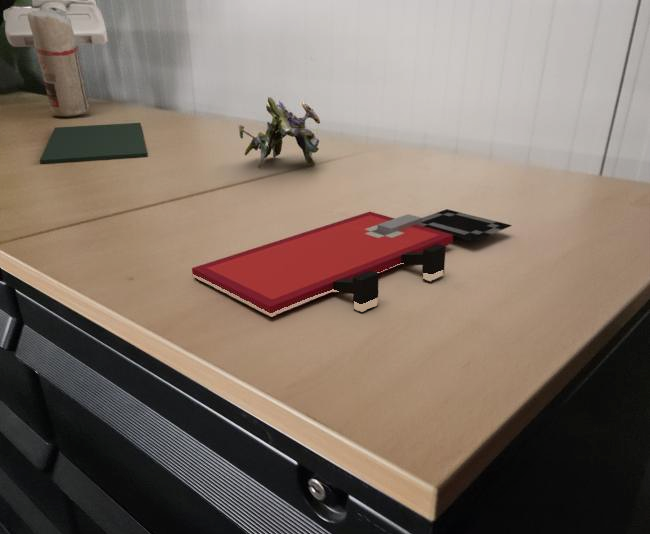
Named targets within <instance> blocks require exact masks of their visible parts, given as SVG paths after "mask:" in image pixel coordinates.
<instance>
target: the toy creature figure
mask: <svg viewBox="0 0 650 534" xmlns="http://www.w3.org/2000/svg"><path fill="white" fill-rule="evenodd" d="M301 106H302V108H303V109H304V111H305V114H304V116H303V117H298V116H296V115H295V114H294V113H293V112H292V111H291V110H290V109H289V108H287V107H286V106H285V105H284V104H283V102H281V101H280V100H279V101H278V104H277V103H276V100H274V98H273V97H271V96H270V97H269V96H268V97H267V103H266V105H265V108H266V111H267V112H268V114H270V116H271V117H272V120H271V122H270V121H267V122H266V124H267V129H266V130H265V133H263V132H258V133H257V136H254V135H252V134H251V133H249V132H248V131H246V130H244V129H245V126H244V125H243V124H238V129H239V138H240V139H242V140H243V139H244V134H245V135H247V136H249V137H250V138H252V140H251V141H250V143H249V145H248V146H247V148H245V151H244V156H247V155H248V154H249V153H250V152H251V151H252V150H254V151H258V149H259V150H260V160H259V164H258V167H257V168H258V169H260V167H261V166H262V165H263V162H264V160H265V159H267V157H269V156H270V155H271V154H272V157H273V158H276V157H278V156H280V155H281V152H282V149H283V139H284V138H285V137H286V136H289V137H291V138H292V137H293V138H294V139H295V140H296V144H297V145H298V147H299V148H300V149H301V150H302V153H303V156H304V159H305V161H306V163H307V164H308V165H309V166H310V165H311V166H314V165H316V161H315V159H314V157H313V153H314V154H315V153H317V152H318V151H319V150H320V149H319V147H318V146H319V143H320V140H319V138H317V137H316V135H315V133H314V132H312V130H310V129H309V128H308V127H307V126H306V120H307V119H312V120H313V121H314V122H315V123H316V124H320V123H321V121H320V117H319V116H318V115H317V113H316V112H315V110H314V109H313V108H312V107H310V106H309V105H308V104H305V102H302V103H301Z"/></svg>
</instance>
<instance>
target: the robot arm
mask: <svg viewBox="0 0 650 534" xmlns="http://www.w3.org/2000/svg"><path fill="white" fill-rule="evenodd" d="M31 4H32V5H21V6H19V5H11V6H9V8H6V9H4V10H3V14H2V16H3V17H2V18H3V21H4V26H5V27H4V30H5V36H6V39H7V42H8V44H9V45H10V46H12V47H14V48H27V47H35V46H34V39H33V34H32V31H31V28H30V24H29V20H28V16H27V15H28V13H30V12H32V11H35V12H37V11H39V10H42V9H44V10H46V9H50V10H54V11H59V12H62V13H64V14H65V15H66V16H68V17H69V18H70V20H71V25H72V30H73V32H74V35H75V39H76V43H77V47H78V46H105V45H106V44H107V43H108V33H107V28H106V23H105V20H104V17H103V14H102V11H101V9H99V8H98V6H97V2H96V0H31Z"/></svg>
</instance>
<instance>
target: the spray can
mask: <svg viewBox="0 0 650 534" xmlns="http://www.w3.org/2000/svg"><path fill="white" fill-rule="evenodd" d="M27 16H28V20H29V24H30V28H31V31H32V34H33V39H34V46H33V47H34V48H35V51H36V55H37V59H38V63H39V68H40V70H41V75H42V79H43V83H44V84H43V85H44V87H45V92H46V96H47V100H48V104H49V107H50V110H49V112H50V113H51V114H52V115H55V116H57V117H75V116H79V115H84V114H87V113H89V112H90V111H91V108H90V106H89V100H88V96H87V90H86V86H85V85H86V84H85V80H84V75H83V71H82V64H81V61H80V55H79V52H78V51H79V50H78V46H77V43H76V39H75V35H74V32H73V30H72V25H71V20H70V18H69V17H68V16H66V15H65V14H64V13H62V12H59V11H54V10H50V9H46V10H44V9H42V10H39V11H37V12H35V11H32V12H30V13H28V15H27Z"/></svg>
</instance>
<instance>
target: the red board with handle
mask: <svg viewBox="0 0 650 534" xmlns="http://www.w3.org/2000/svg"><path fill="white" fill-rule="evenodd" d="M512 226H513V225H512V224H509V223H504V222H501V221H496V220H493V219H489V218H484V217H480V216H476V215H472V214H469V213H463V212H460V211H456V210H451V209H448V208H446V209H444V210H440V211H437V212H435V213H432V214H429V215H426V216H423V217H420V216H417V215H414V214H413V215H412V214H409V213H407V214H404V215H402V216H401V215H400V216H399V217H396V218H394V217H392V216H388V215H383V214H381V213H376V212H374V211H367V212H364V213H360V214H358V215H354V216H350V217H348V218H345V219H342V220H339V221H335V222H332V223H329V224H327V225H323V226H320V227H316V228H314V229H310V230H308V231H304V232H301V233H298V234H293V235H292V236H288V237H285V238H282V239H279V240H275V241H272V242H269V243H267V244H263V245H260V246H256V247H254V248H251V249H247V250H245V251H241V252H238V253H235V254H231V255H227V256H225V257H223V258H219V259H216V260H213V261H210V262H207V263H204V264H200V265H197V266H193V267H191V272H192V275H193V274H194V275H196V276H198V277H201V278H203V279H205V280H207V281H209V282H211V283H212V284H215V285H217V286H219V287H221V288H222V289H225V290H227V291H229V292H230V293H233V294H235V295H237V296H239V297H240V298H242V299H244V300H246V301H249V302H251V303H252V304H254V305H256V306H257V307H259V308H261V309H264V310H265V311H267V312H269V313H273V312H275V311H277V310H280V309H282V308H284V307H288V306H290V305H292V304H295V303H297V302H300V301H302V300H305V299H307V298H310V297H313V296H315V295H318V294H321V293H324V292H327V291H330V290H332V289H334V290H337V291H339V292H342V293H341V294H351V295H352V302H353V301H355V302H357V303H359V304H363V303H366V302H368V301H370V300H373V299H375V298H377V297H378V298H379V274H378V273H377V272H381V271H383V270H385V269H389V268H390V267H393V266H395V265H397V264H400V263H404V264H407V265H406V266H422V268H421V273H422V272H423V273H428V274H434V273H436V272H438V271H441V270H444V271H445V263H446V248H447V246H446V245H448V244H451V243H453V241H454V237H456V238H457V237H458V238H461V239H464V240H468V241H472V242H477V241H479V240H482V239H484V238H486V237H488V236H491V235H493V234H496V233H498V232H500V231H501V232H502V231H503V230H506V229H508V228H510V227H512ZM451 245H452V244H451ZM448 246H449V245H448Z"/></svg>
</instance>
